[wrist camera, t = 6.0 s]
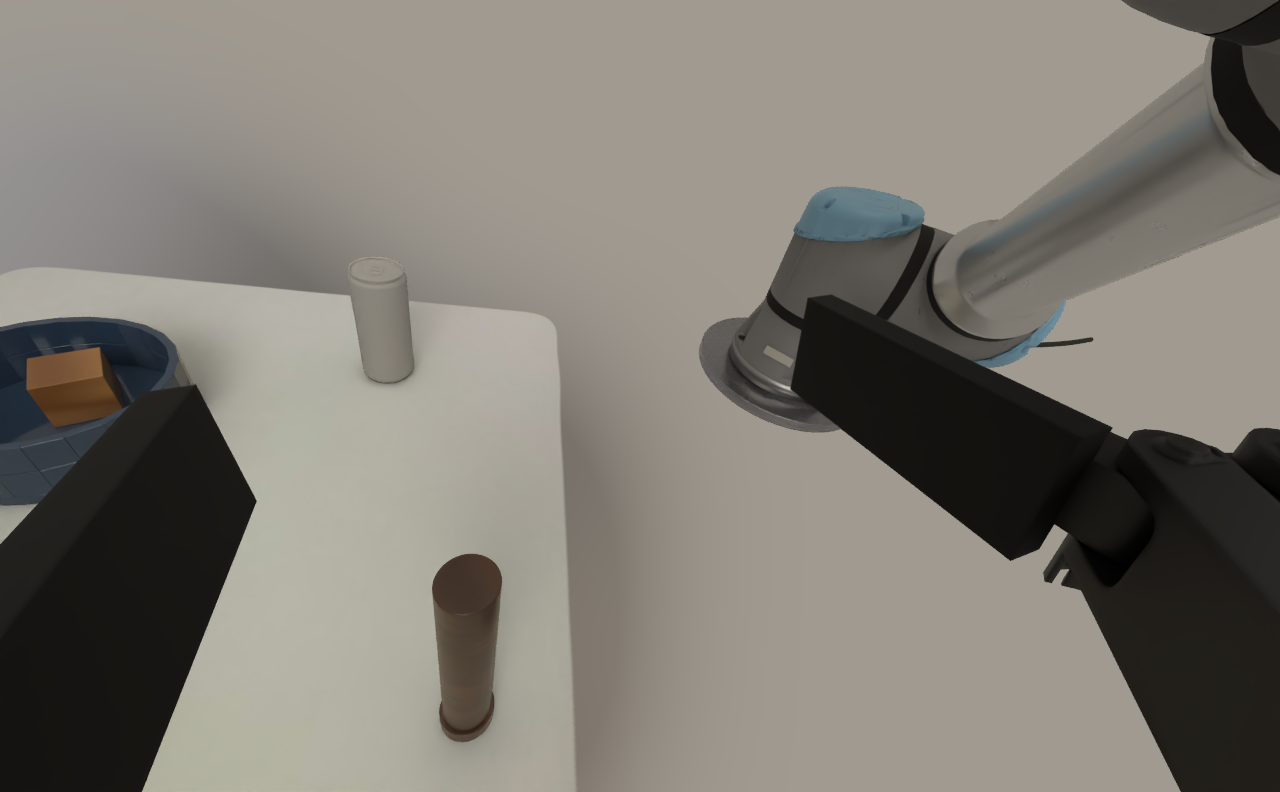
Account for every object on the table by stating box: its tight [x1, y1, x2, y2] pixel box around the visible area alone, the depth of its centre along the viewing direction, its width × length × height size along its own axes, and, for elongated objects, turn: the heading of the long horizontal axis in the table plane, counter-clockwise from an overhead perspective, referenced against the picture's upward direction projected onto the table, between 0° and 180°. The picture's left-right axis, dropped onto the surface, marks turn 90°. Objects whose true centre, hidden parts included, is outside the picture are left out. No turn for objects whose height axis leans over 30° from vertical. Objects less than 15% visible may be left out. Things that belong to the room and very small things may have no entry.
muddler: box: [432, 554, 502, 742], centre depth 26 cm, size 3×3×16 cm
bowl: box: [0, 317, 193, 505], centre depth 38 cm, size 15×15×6 cm
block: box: [27, 347, 125, 428], centre depth 39 cm, size 4×4×4 cm
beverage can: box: [347, 257, 414, 383], centre depth 49 cm, size 5×5×12 cm
